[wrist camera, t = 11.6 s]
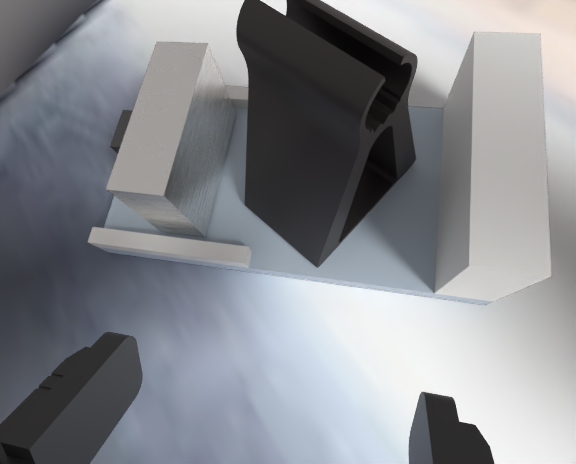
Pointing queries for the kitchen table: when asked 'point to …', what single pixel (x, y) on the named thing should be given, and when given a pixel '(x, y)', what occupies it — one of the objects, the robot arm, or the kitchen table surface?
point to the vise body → (406, 197)
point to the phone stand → (321, 121)
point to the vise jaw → (174, 140)
